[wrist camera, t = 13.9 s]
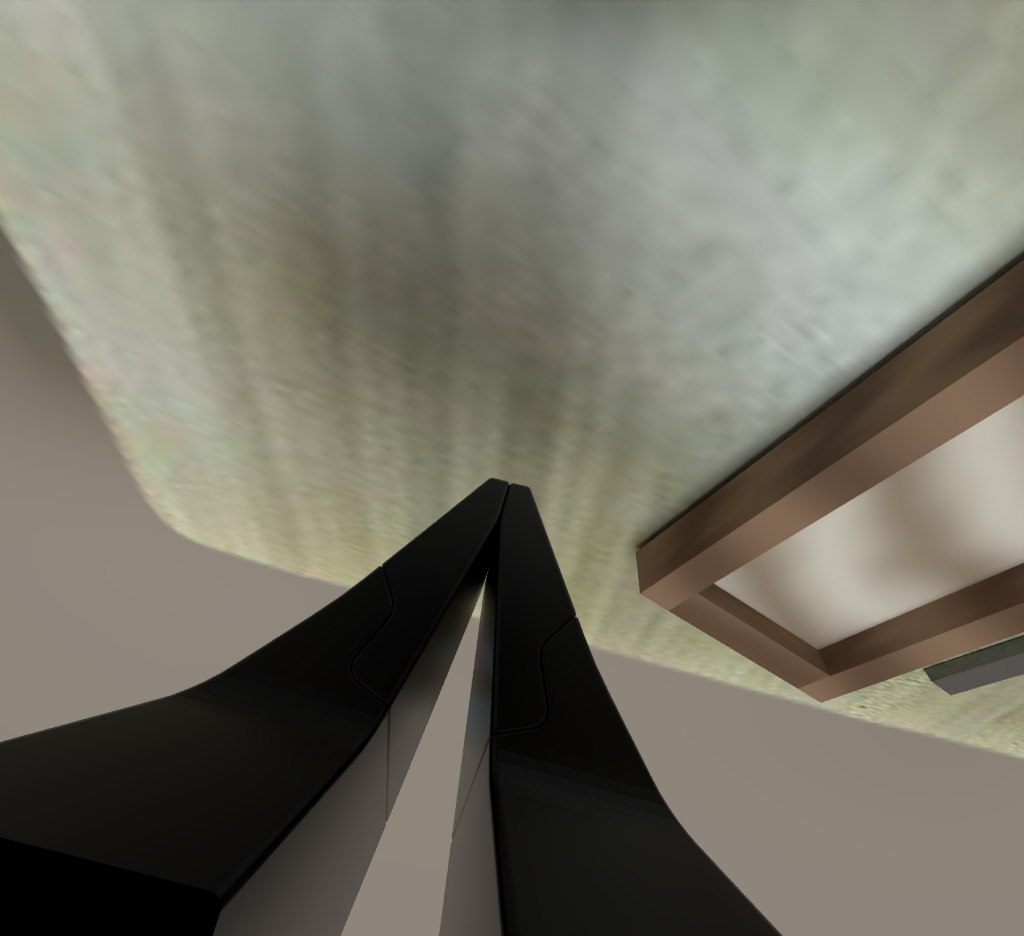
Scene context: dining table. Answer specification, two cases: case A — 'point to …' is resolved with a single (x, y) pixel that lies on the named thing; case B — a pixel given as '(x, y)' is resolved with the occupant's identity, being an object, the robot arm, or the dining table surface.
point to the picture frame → (872, 519)
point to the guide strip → (980, 667)
